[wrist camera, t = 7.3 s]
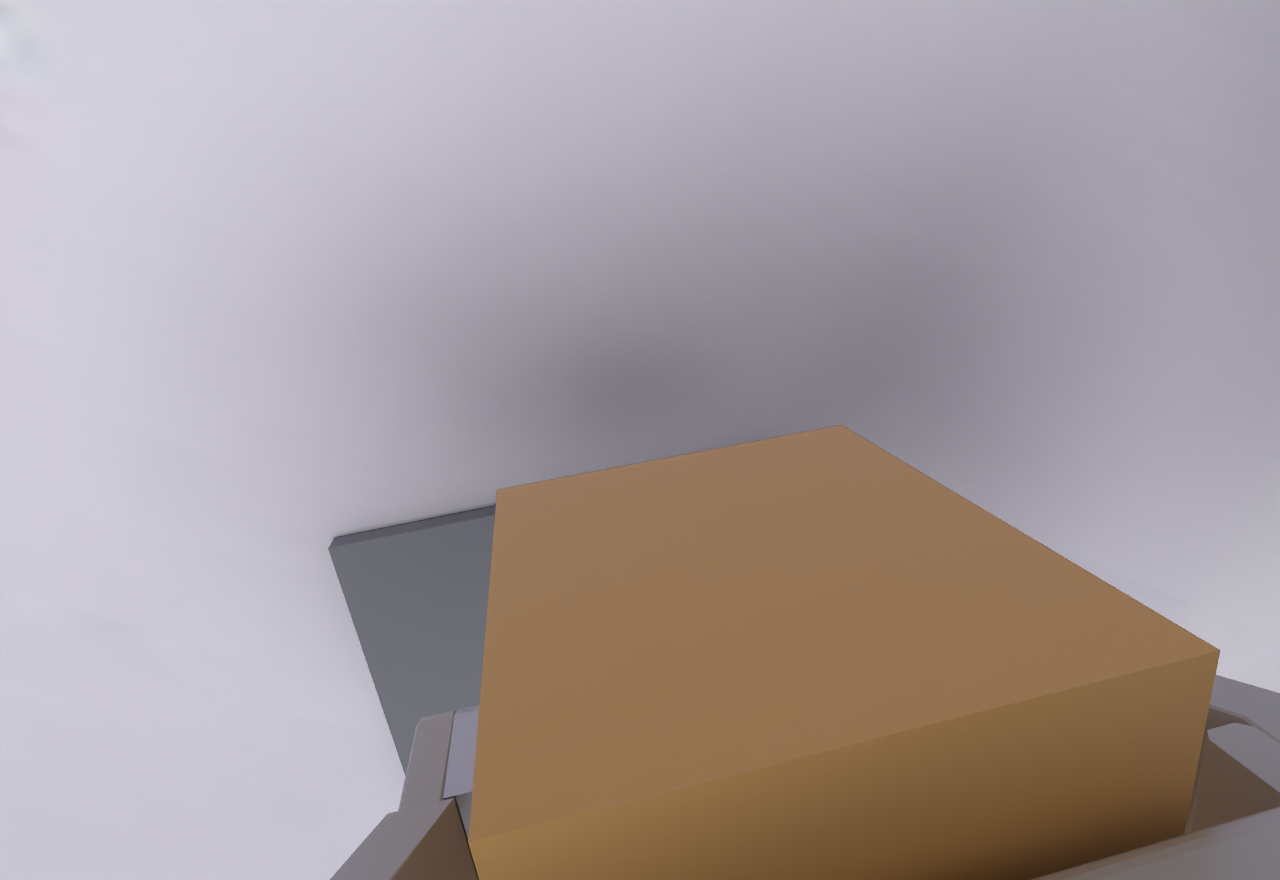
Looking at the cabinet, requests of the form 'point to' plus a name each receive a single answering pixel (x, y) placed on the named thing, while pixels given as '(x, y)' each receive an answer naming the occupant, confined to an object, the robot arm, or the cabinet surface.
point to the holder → (420, 613)
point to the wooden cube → (813, 681)
